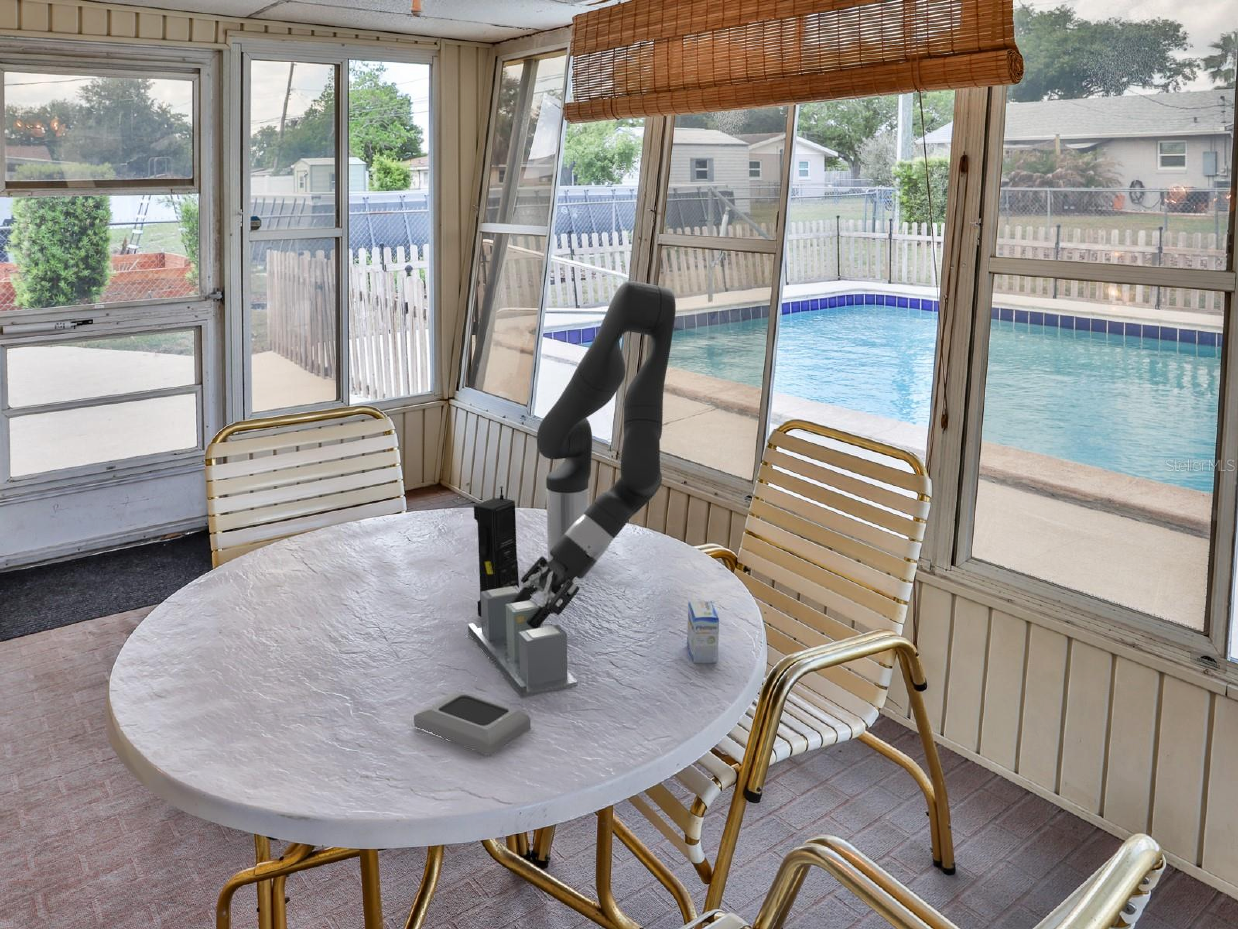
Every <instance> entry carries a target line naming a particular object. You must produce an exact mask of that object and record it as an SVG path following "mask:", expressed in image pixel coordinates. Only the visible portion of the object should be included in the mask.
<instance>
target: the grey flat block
mask: <svg viewBox="0 0 1238 929" xmlns="http://www.w3.org/2000/svg"><path fill="white" fill-rule="evenodd" d="M413 722H414V726H415V727H417V728H420V729H424V730H426V731H428V732H432V733H433V734H435V735H438V736H441V737H442V738H444V739H443V740H445V739H448V740H450V741H451V742H450V741H449V742H450V743H453V742H454V744H456V743H457V744H456V745H458V744H459V746H461V747H464V746H465V747H464V748H466V747H468V748H467V749H469V748H470V749H469V750H472V749H474V750H476V751H475V752H477V751H478V753H480V754H482V753H484V754H483V755H485V754H487V755H486V756H488V755H489V757H491V756H493V755H494V754H496V753H497V752H499V751H500V750H501V749H503V748H505V747H506V746H507V744H508V745H509V744H510V743H512V742H514V741H515V740H516V739H518V738H520V737H521V736H523V735H524V734H525V733H526V732H527V733H528V732H529V731H530V730H531V717H530V716H529V715H528V714H527V713H524V712H523V711H521V710H519V709H516V708H513V707H509V706H506V705H503V704H501V703H498V702H495V701H491V700H489V699H486V698H484V697H483V698H482V697H480V696H477V695H473V694H470V693H468V692H465V691H462V690H455V691H454V692H453V693H451V694H449V695H447V696H446V697H444V698H442V699H440V700H439V701H437V702H435V703H434V704H432V705H430V706H427V707H426V708H424V709H423V710H421V711H419V712H418V713H416V714H414V715H413ZM442 738H441V739H442ZM448 740H447V741H448ZM504 746H505V747H504ZM499 749H500V750H499ZM474 750H473V751H474ZM498 750H499V751H498ZM492 754H493V755H492Z"/></svg>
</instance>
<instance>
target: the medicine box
mask: <svg viewBox="0 0 1238 929" xmlns="http://www.w3.org/2000/svg"><path fill="white" fill-rule="evenodd" d="M687 605H688V606H687V629H686V630H687V632H686V634H687V636H686V645H687V647H688V648H687V649H688V651H689V654H690V656H691V657H690V658H691V659H692V662H693V664H713V663H718V660H719V635H720V634H719V633H720V617H719V615H718V613H717V610H716V609H715V606H714V603H713V601H712V600H689V601H688V603H687Z"/></svg>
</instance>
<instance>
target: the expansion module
mask: <svg viewBox="0 0 1238 929" xmlns="http://www.w3.org/2000/svg"><path fill="white" fill-rule="evenodd" d="M539 606H540V605H539V604H538V603H537V602H536V601H535V600H534V599H530V600H528V601H522V602H516V603H510V604H506V633H507V652H508V653H509V655H510V656H511V657H512V658H513V659H514V660H515V661H516V660H519V632H521V631H526V630H532V629H533V628H532V627H530V626H529V625H528V624H527V620H528V619H529V618H530V616H531V615H532V614H533V613H534V612H535V610H536V609H537V608H538V607H539ZM538 628H542V624H541V625H540V626H539V627H538Z"/></svg>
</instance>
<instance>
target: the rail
mask: <svg viewBox="0 0 1238 929" xmlns="http://www.w3.org/2000/svg"><path fill="white" fill-rule="evenodd" d="M467 633H469V634H468V636H469V635H470V636H471V637H472V638H473V639H472V638H471V637H470V636H469V637H470V638H471V639H472V640H473V641H474V640H475V642H476V643H477V644H478V645H477V644H476V643H475V642H474V643H475V644H476V645H477V647H478V648H479V647H480V648H481V649H482V650H483V651H482V650H481V649H480V648H479V649H480V650H481V651H482V652H484V653H485V654H486V655H487V656H486V655H485V654H484V653H483V654H484V655H485V656H486V657H487V658H488V657H489V659H490V660H489V659H488V660H489V662H491V661H492V662H491V663H492V665H493V664H494V665H495V666H494V665H493V666H494V667H495V668H496V669H497V670H499V671H500V672H499V671H498V672H499V673H500V674H501V676H502V675H503V676H502V677H503V678H504V679H505V681H506V682H507V681H508V682H507V683H508V684H509V686H510V687H511V688H512V689H513V690H514V691H515V693H516V694H517V695H518V696H519V697H520V698H521V699H523V698H529V697H533V696H538V695H542V694H543V695H544V694H547V693H551V692H556V691H562V690H565V689H570V688H574V687H579V681H578V680H577V678H575V677H574V676H573V675H572V674H571V673H570V672H569V670H567V677H568V678H564V679H559V680H555V681H550V682H545V683H541V684H536V685H531V686H528V685H527V684H526V683H525V682H524V681H523V679H522V678H521V677H520V666H519V660H516V661H515V660H514V659H513V658H512V657H511V656H510V655H509V653H508V652H507V637H504V638H499V639H494V640H488V639H487V638H486V636H485V635H484V634H483V633H482V627H479V628H478V627H477V626H476V625H475V624H474V623H473V622H471V623H468V624H467Z"/></svg>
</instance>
